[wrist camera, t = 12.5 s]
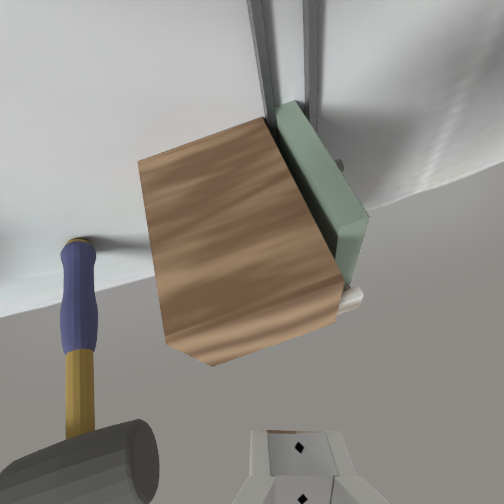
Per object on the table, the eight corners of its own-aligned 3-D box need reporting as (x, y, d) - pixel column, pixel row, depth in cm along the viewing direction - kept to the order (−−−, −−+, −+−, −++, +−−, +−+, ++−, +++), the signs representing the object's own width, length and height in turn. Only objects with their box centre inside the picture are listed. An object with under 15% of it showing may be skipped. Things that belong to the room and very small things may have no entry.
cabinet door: (272, 108, 32) (339, 227, 24) (303, 96, 32) (381, 212, 24) (284, 199, 45) (329, 294, 37) (306, 190, 45) (357, 284, 37)
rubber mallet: (112, 213, 38) (138, 518, 23) (136, 245, 44) (168, 499, 29) (8, 242, 37) (-35, 582, 22) (49, 270, 43) (36, 546, 28)
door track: (229, -110, 19) (234, -105, 18) (312, -140, 18) (320, -136, 18) (277, 197, 45) (280, 203, 44) (312, 185, 45) (315, 191, 44)
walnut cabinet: (137, 161, 32) (166, 344, 23) (299, 103, 32) (399, 261, 22) (190, 238, 47) (222, 371, 37) (303, 198, 46) (365, 320, 37)
